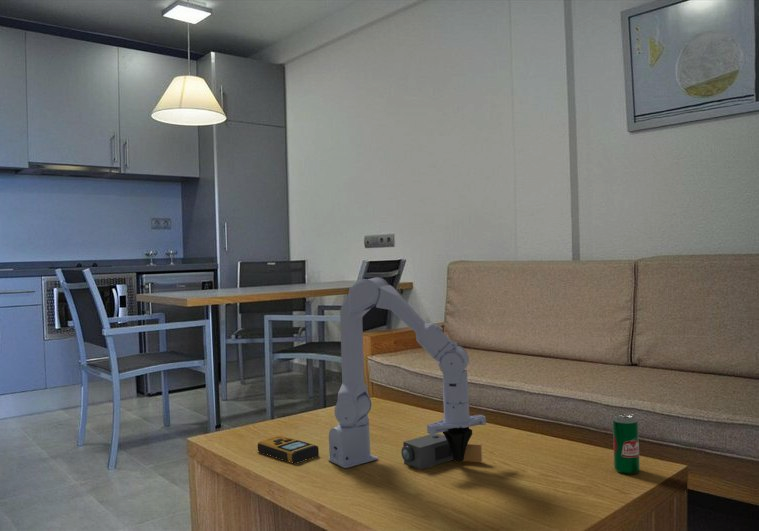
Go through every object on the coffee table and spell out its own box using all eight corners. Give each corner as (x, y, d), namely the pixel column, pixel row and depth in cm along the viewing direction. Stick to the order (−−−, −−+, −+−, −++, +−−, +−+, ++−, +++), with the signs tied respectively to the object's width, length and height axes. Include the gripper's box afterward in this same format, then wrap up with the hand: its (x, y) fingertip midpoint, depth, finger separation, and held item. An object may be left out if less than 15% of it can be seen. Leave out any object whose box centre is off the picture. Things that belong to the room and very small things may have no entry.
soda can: (624, 476, 130) (622, 419, 130) (609, 468, 135) (607, 414, 134) (645, 473, 131) (642, 417, 131) (629, 465, 136) (627, 411, 136)
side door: (482, 461, 143) (481, 443, 143) (481, 463, 142) (480, 444, 142) (454, 459, 145) (453, 441, 145) (453, 460, 144) (452, 442, 144)
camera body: (417, 470, 139) (415, 446, 139) (400, 464, 144) (399, 440, 144) (453, 459, 145) (452, 435, 145) (436, 453, 150) (435, 430, 150)
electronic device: (282, 446, 164) (281, 433, 164) (320, 457, 153) (319, 443, 153) (255, 454, 158) (255, 441, 158) (293, 466, 147) (292, 452, 147)
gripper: (437, 409, 133) (440, 471, 134) (492, 399, 140) (495, 459, 140) (421, 403, 140) (424, 462, 140) (474, 394, 146) (477, 451, 146)
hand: (458, 460), depth 140 cm, fingers closed
